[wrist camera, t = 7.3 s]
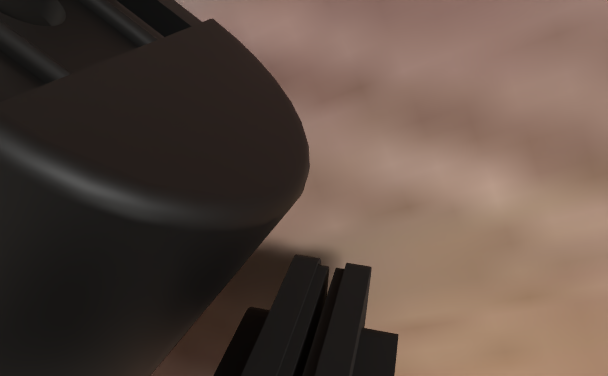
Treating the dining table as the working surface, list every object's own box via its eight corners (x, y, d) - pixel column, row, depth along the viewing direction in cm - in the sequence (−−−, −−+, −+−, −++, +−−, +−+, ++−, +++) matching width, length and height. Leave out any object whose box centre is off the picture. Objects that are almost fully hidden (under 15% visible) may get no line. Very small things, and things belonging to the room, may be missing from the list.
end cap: (142, 364, 16) (-41, 629, 10) (-67, 218, 15) (-397, 407, 9) (350, 106, 11) (244, 316, 5) (60, -121, 10) (-451, -187, 4)
